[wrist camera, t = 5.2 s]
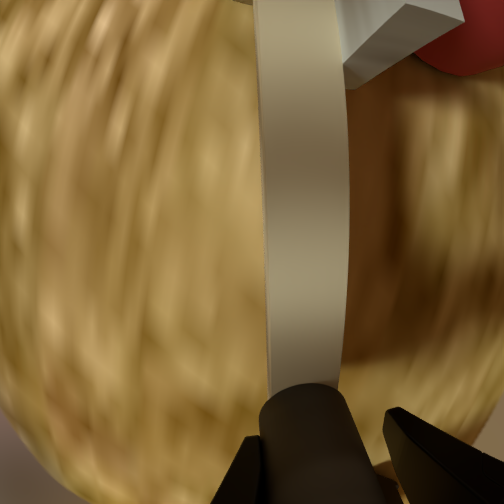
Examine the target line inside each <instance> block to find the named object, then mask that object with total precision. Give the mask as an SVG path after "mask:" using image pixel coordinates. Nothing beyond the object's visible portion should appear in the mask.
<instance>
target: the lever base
mask: <svg viewBox="0 0 504 504" xmlns="http://www.w3.org/2000/svg"><path fill="white" fill-rule="evenodd" d="M233 1H237V2H240V3H244V4H249V5H253V0H233Z"/></svg>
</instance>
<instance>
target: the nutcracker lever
mask: <svg viewBox="0 0 504 504" xmlns="http://www.w3.org/2000/svg"><path fill="white" fill-rule="evenodd" d="M253 10H254V29H255V48H256V68H257V88H258V110H259V133H260V157H261V182H262V209H263V238H264V269H265V302H266V340H267V384H268V401H267V402H266V403H265V404H264V406H263V407H262V409H261V411H260V415H259V429H260V439H261V449H262V460H263V470H264V501H265V504H387V502H386V500H385V497H384V495H383V492H382V490H381V487H380V484H379V482H378V479H377V477H376V474H375V472H374V469H373V467H372V464H371V462H370V459H369V457H368V454H367V452H366V449H365V447H364V444H363V442H362V440H361V437H360V435H359V432H358V430H357V427H356V425H355V423H354V420H353V418H352V415H351V413H350V410H349V408H348V406H347V403H346V401H345V399H344V397H343V395H342V394H341V393H340V392H339V391H338V382H339V374H340V365H341V356H342V346H343V336H344V324H345V311H346V297H347V279H348V257H349V149H348V127H347V111H346V96H345V89H351V90H356V89H357V88H359V87H360V86H362V85H363V84H365V83H366V82H368V81H369V80H371V79H372V78H374V77H375V76H377V75H378V74H380V73H381V72H383V71H384V70H386V69H387V68H389V67H391V66H392V65H394V64H395V63H397V62H398V61H400V60H402V59H403V58H405V57H406V56H408V55H410V54H411V53H413V52H414V51H416V50H418V49H419V48H421V47H423V46H424V45H426V44H428V43H429V42H431V41H433V40H434V39H436V38H438V37H439V36H441V35H443V34H445V33H446V32H448V31H450V30H452V29H453V28H455V27H457V26H459V25H460V24H462V23H464V22H465V20H464V17H463V13H462V10H461V6H460V3H459V0H253Z"/></svg>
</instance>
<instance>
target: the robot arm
mask: <svg viewBox="0 0 504 504" xmlns="http://www.w3.org/2000/svg"><path fill="white" fill-rule="evenodd" d="M383 435H384V438H385V441H386V444H387V447H388V450H389V454H390V457H391V460H392V463H393V466H394V469H395V472H396V475H397V477H398V479H399V481H400V483H401V486H402V488H403V490H404V492H405V494H406V496H407V499H408V501H409V503H410V504H504V462H502V461H500V460H498V459H496V458H494V457H492V456H489V455H488V454H486V453H482V452H481V451H480V450H478V449H476V448H474V447H472V446H470V445H468V444H466V443H464V442H462V441H460V440H459V439H457V438H455V437H453V436H451V435H449V434H447V433H446V432H444V431H442V430H440V429H438V428H436V427H435V426H433V425H431V424H429V423H427V422H425V421H424V420H422V419H420V418H418V417H417V416H415V415H413V414H411V413H409V412H408V411H406V410H404V409H402V408H401V407H395V408H391V409H388V410H387V411H386V412H385V417H384V423H383ZM376 477H377V479H378V482H379V484H380V487H381V490H382V492H383V495H384V497H385V500H386V502H387V504H404V503H403V501H402V499H401V496H400V494H399V492H398V488H399V485H398V483H397V482H396V481H393V480H391V479H388V478H386V477H383V476H380V475H377V474H376ZM210 504H265V501H264V470H263V460H262V449H261V439H260V436H259V435H254V436H246V437H245V438H244V440H243V442H242V444H241V446H240V448H239V450H238V452H237V454H236V456H235V458H234V460H233V462H232V464H231V466H230V468H229V470H228V471H227V473H226V475H225V477H224V479H223V481H222V483H221V485H220V487H219V488H218V490H217V492H216V494H215V496H214V498H213V499H212V501H211V503H210Z"/></svg>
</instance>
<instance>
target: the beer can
mask: <svg viewBox="0 0 504 504" xmlns="http://www.w3.org/2000/svg"><path fill="white" fill-rule="evenodd" d="M459 3H460V6H461V10H462V13H463V17H464V20H465V22H464V23H462V24H460V25H459V26H457V27H455V28H453V29H452V30H450V31H448V32H446V33H445V34H443V35H441V36H439V37H438V38H436V39H434V40H433V41H431V42H429V43H428V44H426V45H424V46H423V47H421V48H419V49H418V50H416V51H414V53H415V54H416V55H417V56H418V57H419V58H421V59H422V60H423V61H424V62H426V63H428V64H430V65H431V66H433V67H435V68H437V69H438V70H440V71H442V72H446V73H450V74H454V75H457V76H467V75H475V74H478V73H481V72H484V71H487V70H491V69H494V68H497V67H500V66H504V0H459Z"/></svg>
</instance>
